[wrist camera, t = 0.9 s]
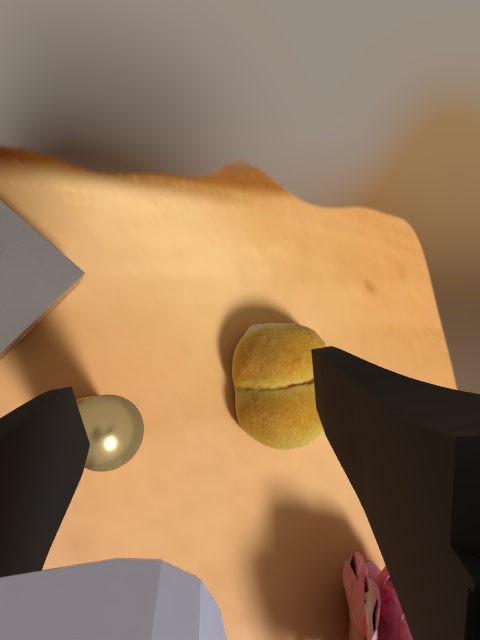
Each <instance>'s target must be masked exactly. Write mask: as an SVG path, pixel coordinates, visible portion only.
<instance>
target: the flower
mask: <svg viewBox="0 0 480 640" xmlns="http://www.w3.org/2000/svg"><path fill="white" fill-rule="evenodd" d="M343 585H344V589H345V593H346V597H347V602H348V606H349V615H350V625H349V640H413V638H412V635H411V633H410V630H409V627H408V624H407V622H406V619H405V616H404V613H403V611H402V608H401V605H400V602H399V599H398V597H397V594H396V591H395V588H394V586H393V583H392V580H391V578H390V575H389V573H388V570H387V567H386V566H385V568H384V569H383V570H382V571H381V570H380V569H379V568H378V567H377V566H376V565H375V564H374V563H371V562H369V561H368V562H366V563H365V559H364V555H362V554H361V553H359V552H358V551H356V552H354V553H349V555H348V556H347V558H346V560H345V561H344V567H343Z"/></svg>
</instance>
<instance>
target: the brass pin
mask: <svg viewBox="0 0 480 640" xmlns="http://www.w3.org/2000/svg"><path fill="white" fill-rule="evenodd" d="M76 402H77V405H78V408H79V411H80V415H81V418H82V421H83V424H84V427H85V430H86V433H87V436H88V439H89V442H90V447H89V451H88V455H87V459H86V463H85V466H84V467H85V468H87V469H89V470H93V471H100V472H101V471H110V470H114V469H116V468H119V467H121V466H122V465H124V464H126V463H127V462H128V461H129V460H130V459H131V458H132V457H133V456H134V455H135V454H136V452H137V451H138V449H139V447H140V445H141V442H142V439H143V433H144V425H143V420H142V416H141V414H140V412H139V410H138V409H137V408H136V406H135V405H134V404H133V403H132V402H130V401H129V400H127V399H125V398H123V397H120V396H116V395H101V396H92V397H83V398H77V399H76Z"/></svg>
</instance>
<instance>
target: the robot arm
mask: <svg viewBox="0 0 480 640" xmlns="http://www.w3.org/2000/svg"><path fill="white" fill-rule="evenodd" d="M311 353H312V365H313V377H314V388H315V400H316V409H317V412H318V415H319V418H320V421H321V424H322V426H323V429H324V432H325V434H326V437H327V439H328V441H329V443H330V445H331V447H332V448H333V450H334V452H335V454H336V456H337V458H338V460H339V462H340V464H341V466H342V468H343V470H344V471H345V473H346V475H347V477H348V479H349V481H350V483H351V485H352V487H353V489H354V490H355V492H356V494H357V496H358V498H359V500H360V503H361V505H362V507H363V509H364V511H365V513H366V516H367V518H368V521H369V524H370V526H371V529H372V531H373V534H374V536H375V539H376V541H377V544H378V546H379V549H380V551H381V554H382V557H383V559H384V562H385V565H386V567H387V570H388V573H389V575H390V578H391V580H392V583H393V586H394V588H395V591H396V594H397V597H398V599H399V602H400V605H401V608H402V611H403V613H404V616H405V619H406V622H407V624H408V627H409V630H410V633H411V635H412V638H413V640H480V394H474V393H470V392H464V391H459V390H454V389H449V388H445V387H441V386H437V385H433V384H430V383H426V382H422V381H419V380H415V379H412V378H409V377H406V376H403V375H401V374H398V373H395V372H392V371H390V370H387V369H384V368H382V367H379V366H377V365H375V364H372V363H370V362H368V361H365V360H363V359H361V358H359V357H357V356H354V355H352V354H350V353H348V352H345V351H343V350H341V349H338V348H336V347H333V346H329V347H323V348H316V349H311ZM89 447H90V442H89V439H88V436H87V433H86V430H85V427H84V424H83V421H82V418H81V415H80V411H79V408H78V405H77V402H76V399H75V396H74V393H73V390H72V387H68V388H62V389H55V390H50V391H48V392H45V393H43V394H41V395H39V396H37V397H35V398H34V399H32V400H30V401H28V402H27V403H25V404H23V405H22V406H20V407H18V408H17V409H15V410H13V411H12V412H10V413H8V414H7V415H5V416H3V417H2V418H0V640H227V638H226V634H225V629H224V625H223V621H222V616H221V612H220V608H219V606H218V605H217V603H216V602H215V600H214V599H213V597H212V596H211V594H210V593H209V591H208V590H207V588H206V586H205V585H204V583H203V582H202V580H201V579H199V578H198V577H196V576H195V575H193V574H190V573H188V572H186V571H184V570H182V569H180V568H178V567H176V566H173V565H171V564H169V563H167V562H165V561H163V560H161V559H136V558H114V559H108V560H102V561H96V562H90V563H84V564H78V565H72V566H66V567H60V568H54V569H48V570H42V568H43V565H44V563H45V560H46V557H47V555H48V552H49V550H50V547H51V545H52V543H53V540H54V538H55V536H56V534H57V531H58V529H59V527H60V525H61V522H62V520H63V518H64V516H65V513H66V511H67V509H68V507H69V504H70V502H71V500H72V497H73V495H74V493H75V490H76V488H77V486H78V483H79V481H80V479H81V476H82V473H83V470H84V466H85V463H86V459H87V455H88V451H89Z"/></svg>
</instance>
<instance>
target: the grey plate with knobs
mask: <svg viewBox="0 0 480 640" xmlns="http://www.w3.org/2000/svg"><path fill="white" fill-rule="evenodd" d="M84 273H85V272H83V271H82V270H81V269H80V268H79V267H78V266H76V265H75V264H74V263H73V262H72V261H71V260H70V259H68V258H67V257H66V256H65V255H64V254H63V253H61V252H60V251H59V250H58V249H57V248H56V247H54V246H53V245H52V244H51V243H50V242H49V241H47V240H46V239H45V238H44V237H43V236H42V235H40V234H39V233H38V232H37V231H36V230H35V229H33V228H32V227H31V226H30V225H29V224H28V223H27V222H25V221H24V220H23V219H22V218H21V217H20V216H18V215H17V214H16V213H15V212H14V211H13V210H11V209H10V208H9V207H8V206H7V205H6V204H4V203H3V202H2V201H1V200H0V360H1V359H2V358H3V357H4V356H5V355H6V354H7V353H8V352H9V351H11V350H12V349H13V348H14V347H15V346H16V345H17V344H18V343H19V342H20V341H21V340H22V339H23V338H24V337H25V336H26V335H27V334H28V333H29V332H30V331H31V330H32V329H33V328H34V327H35V326H36V325H37V324H38V323H40V322H41V321H42V320H43V319H44V318H45V317H46V316H47V315H48V314H49V313H50V312H51V311H52V310H53V309H54V308H55V307H56V306H57V305H58V304H59V303H60V302H61V301H62V300H63V299H64V298H65V297H66V296H67V295H69V294H70V293H71V292H72V291H73V290H74V289H75V288H76V287H77V286H78V285H79V283H80V281H81V279H82V277H83V275H84Z"/></svg>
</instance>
